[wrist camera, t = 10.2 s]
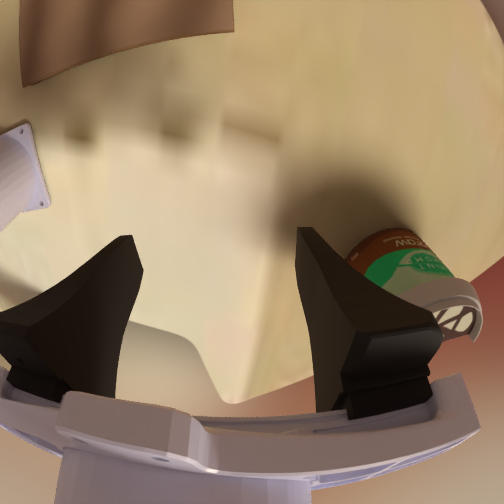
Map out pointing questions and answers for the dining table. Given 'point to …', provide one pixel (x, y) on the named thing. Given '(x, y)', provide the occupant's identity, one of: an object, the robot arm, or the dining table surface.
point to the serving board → (107, 29)
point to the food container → (419, 280)
